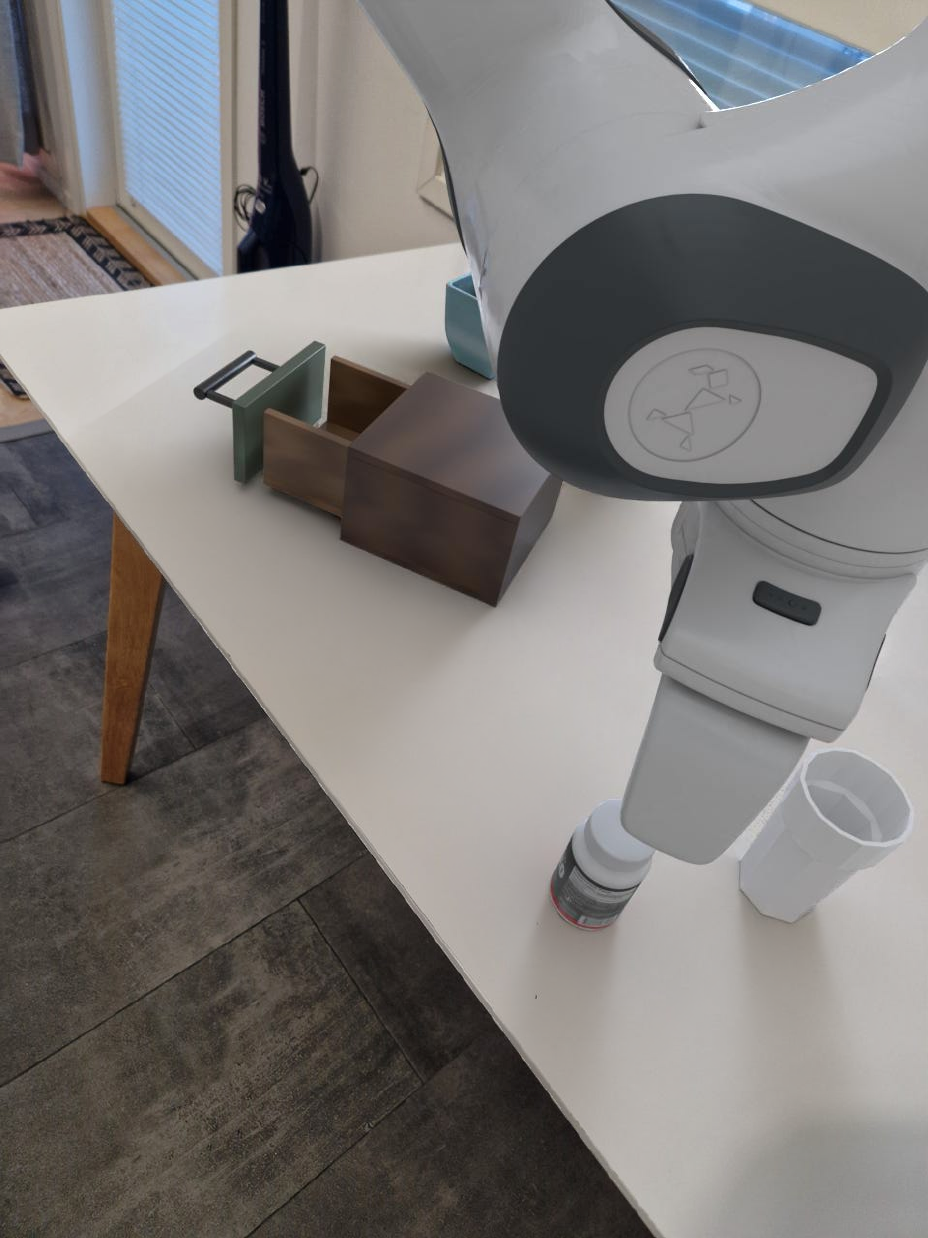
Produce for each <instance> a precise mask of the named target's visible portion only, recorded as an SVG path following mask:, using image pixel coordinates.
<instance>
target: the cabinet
mask: <svg viewBox="0 0 928 1238" xmlns="http://www.w3.org/2000/svg"><path fill="white" fill-rule="evenodd" d="M410 385H411V386H410V387H409V388H408V389H407V390H406V391H405V392H404V393H403V394H402V395H401V396H400V397H399V398H398V399H396V400H395V401H394V402H393V403H392V404H391V405H390V406H389V407H388V408H387V409H386V410H385V411H384V412H383V413H382V414H381V415H380V416H379V417H378V418H377V419H376V420H375V421H374V422H373V423H372V424H371V425H369V426H368V427H367V428H366V429H365V430H364V431H363V432H362V433H361V434H360V435H359V436H358V437H357V438H356V439H355V440H354V441H353V442H352V443H351V444H350V445H349V446H348V453H347V463H346V475H345V486H344V497H343V509H342V517H341V519H340V520H341V522H340V533H339V540H340V541H343V542H344V543H347V544H349V545H352V546H354V547H357V548H359V549H361V550H363V551H366V552H368V553H370V554H372V555H375V556H377V557H379V558H381V559H383V560H386V561H388V562H391V563H393V564H395V565H398V566H400V567H402V568H404V569H407V570H409V571H411V572H414V573H416V574H418V575H421V576H423V577H424V578H428V579H430V580H432V581H434V582H436V583H439V584H441V585H443V586H446V587H447V588H451V589H453V590H455V591H457V592H460V593H462V594H464V595H466V596H468V597H471V598H473V599H476V600H478V601H480V602H482V603H484V604H487V605H490V606H492V607H494V608H496V607H497V606H498V605H499V603H500V602H501V600H502V598H503V597H504V595H505V594H506V592H507V590H508V588H509V587H510V586H511V584H512V582H513V581H514V579H515V577H516V576H517V574H518V573H519V571H520V569H521V568H522V566H523V564H524V563H525V561H526V560H527V558H528V556H529V555H530V553H531V552H532V550H533V548H534V547H535V545H536V544H537V542H538V541H539V539H540V537H542V534H543V533H544V531H545V529H546V528H547V526H548V525H549V523H550V521H551V520H552V518H553V516H554V513H555V510H556V506H557V503H558V500H559V496H560V494H561V490H562V487H563V484H564V481H562V480H560V479H559V478H557V477H555V476H554V475H552V474H551V473H549V472H548V471H547V470H545V469H544V468H543V467H542V466H540V465H539V464H538V463H537V462H536V461H535V460H534V459H533V458H532V457H531V456H530V455H529V454H528V453H527V452H526V451H525V449H524V448H523V447H522V445H521V444H520V443H519V441H518V440H517V438H516V437H515V435H514V433H513V432H512V430H511V428H510V426H509V424H508V422H507V419H506V417H505V414H504V411H503V408H502V405H501V401H500V398H497V397H495V396H492V395H490V394H487V393H485V392H482V391H480V390H477V389H476V388H475V389H474V388H472V387H470V386H467V385H464V384H462V383H459V382H456V381H454V380H452V379H449V378H446V377H443V376H441V375H439V374H436V373H433V372H432V371H431V372H430V371H429V370H425V371H424V372H423V373H422V374H421V375H420V376H419V377H418V378H417V379H416V380H415V381H414V382H413V383H412V384H410Z"/></svg>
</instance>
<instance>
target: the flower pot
mask: <svg viewBox="0 0 928 1238" xmlns="http://www.w3.org/2000/svg"><path fill="white" fill-rule="evenodd" d="M444 299H445V300H444V331H445V337H446V341H447V344H448V347H449V349H450V351H451V353H452V355H453V358H454V359H455V361H456V362H458V363H459V364H461V365H463V366H465V367H467V368H469V369H470V370H473V371H474V372H476V373H478V374H480V375H482V376H483V377H485V378H487V379H489V380H493V379H495V377H494V373H493V369H492V366H491V362H490V358H489V354H488V349H487V345H486V340H485V336H484V332H483V327H482V322H481V315H480V310H479V306H478V301H477V297H476V292H475V288H474V284H473V279H472V275H471V272H469V273H466V274H463V275H461V276H459V277H456V278H454V279H452V280H450V281H448V282H446V284H445V298H444Z"/></svg>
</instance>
